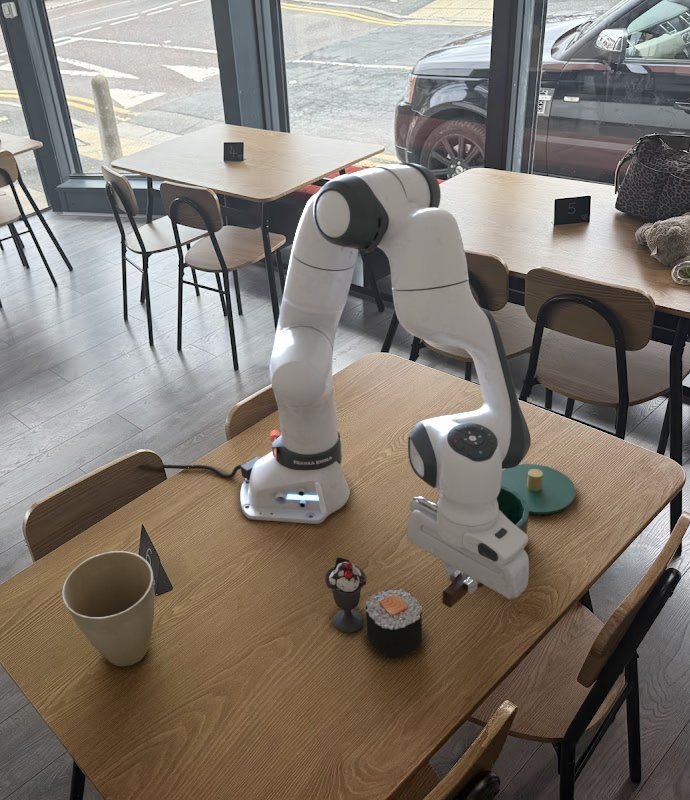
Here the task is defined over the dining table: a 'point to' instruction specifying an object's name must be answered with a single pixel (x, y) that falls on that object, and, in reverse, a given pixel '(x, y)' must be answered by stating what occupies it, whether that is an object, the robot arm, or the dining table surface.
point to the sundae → (346, 593)
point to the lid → (540, 487)
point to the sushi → (394, 623)
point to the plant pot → (113, 604)
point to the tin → (514, 508)
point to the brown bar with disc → (456, 590)
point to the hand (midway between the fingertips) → (462, 584)
